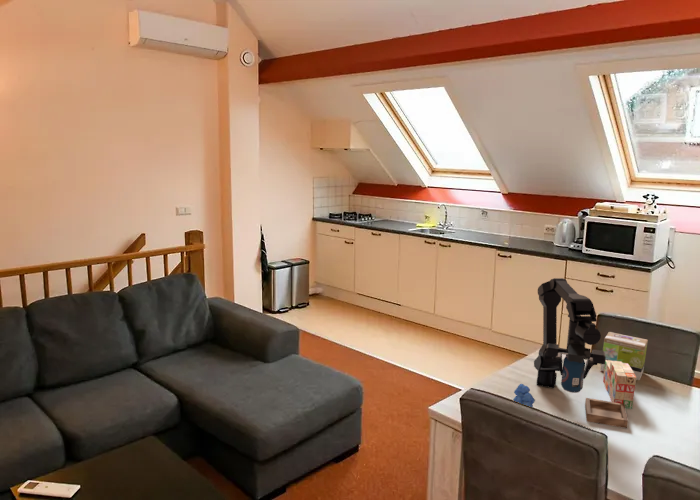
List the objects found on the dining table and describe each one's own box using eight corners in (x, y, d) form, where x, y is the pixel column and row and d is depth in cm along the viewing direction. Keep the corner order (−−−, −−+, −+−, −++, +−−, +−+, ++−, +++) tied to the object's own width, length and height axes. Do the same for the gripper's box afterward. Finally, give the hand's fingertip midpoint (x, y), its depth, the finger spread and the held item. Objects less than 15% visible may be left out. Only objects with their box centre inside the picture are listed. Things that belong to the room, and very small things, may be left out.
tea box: (599, 371, 224) (603, 337, 221) (604, 363, 232) (608, 330, 229) (640, 381, 215) (645, 346, 212) (643, 372, 223) (648, 338, 220)
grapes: (541, 425, 181) (544, 391, 179) (521, 425, 180) (524, 392, 178) (526, 408, 192) (529, 376, 190) (508, 408, 192) (510, 377, 189)
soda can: (558, 384, 193) (561, 352, 190) (578, 385, 192) (582, 353, 190) (563, 393, 186) (567, 360, 183) (584, 394, 185) (588, 361, 183)
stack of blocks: (602, 381, 215) (605, 352, 212) (619, 383, 213) (623, 354, 211) (613, 406, 194) (617, 374, 192) (632, 409, 193) (636, 376, 190)
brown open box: (586, 421, 184) (587, 413, 183) (585, 404, 195) (585, 397, 195) (627, 428, 180) (628, 420, 179) (623, 411, 191) (624, 404, 190)
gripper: (547, 337, 181) (543, 381, 184) (608, 346, 174) (603, 391, 177) (548, 327, 191) (544, 368, 194) (606, 334, 184) (601, 377, 187)
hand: (572, 376), depth 188 cm, fingers closed on soda can, 7 cm apart
